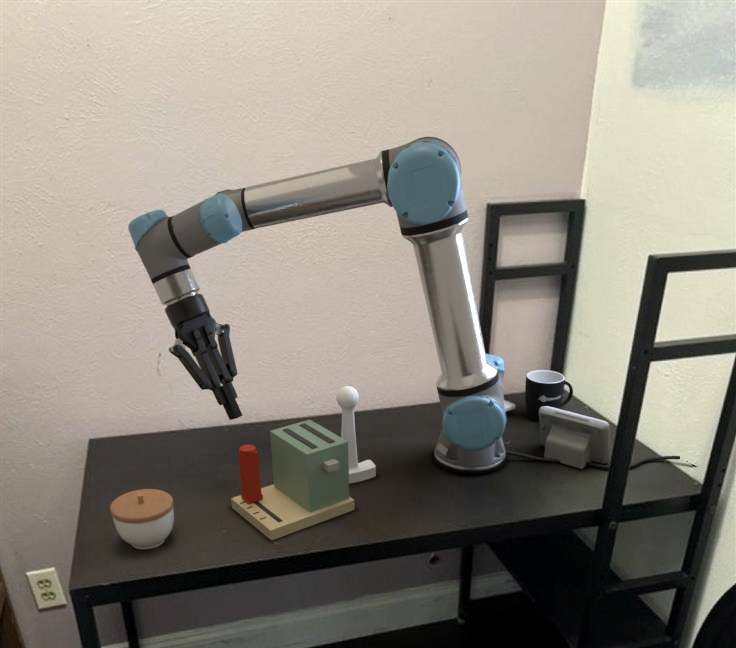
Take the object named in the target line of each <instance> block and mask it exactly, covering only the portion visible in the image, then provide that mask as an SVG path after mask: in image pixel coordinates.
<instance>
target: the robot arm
mask: <svg viewBox="0 0 736 648" xmlns="http://www.w3.org/2000/svg"><path fill="white" fill-rule="evenodd" d="M463 187H464V186H463V181H462V165H461V160H460V157H459V156H458V153H457V152H456V150H455V149H454V147H453V146H452V145H451V144H449V142H447V141H446V140H443V139H442V138H440V137H435V136H422V137H419V138H417V139H413V140H411V141H409V142H407V143H405V144H402V145H399V146H396V147H393V148H389V149H385V150H380V151H379V153H378V155H376V157H375V158H372V159H368V160H367V159H366V160H363V161H358V162H353V163H349V164H345V165H340V166H335V167H331V168H325V169H322V170H317V171H312V172H308V173H304V174H299V175H295V176H290V177H285V178H281V179H276V180H271V181H267V182H263V183H259V184H258V183H257V184H254V185H249V186H246V187H242V188H235V189H230V188H229V189H224V190H220V191H218V192H216V193H215V194H213V195H212V196H209V197H207V198H205V199H204V200H202V201H200V202H198V203H195V204H194V205H192V206H190V207H188V208H186V209H183V210H182V211H180V212H179V213H177V214H176V213H175V214H174V215H171V216H169V215H168V214H167V213H166V211H165V210H164V209H154V210H151V211H148V212H146V213H144V214H141V215H139V216H137V217H135V218H133V219H132V220H131V221H130V222H129V223H128V227H127V228H128V234H129V235H130V238H131V240H132V243H133V245H134V250H135V252H137V254H138V256H139V259H140V261H141V262H142V265H143V266H144V268H145V270H146V273H147V275H148V276H149V279H150V281H151V284H152V286H153V288H154V291H155V293H156V295H157V297H158V299H159V301H160V303H161V305H163V306H166V307H165V308H164V312H165V314H166V316H167V319H168V321H169V323H170V325H171V326H172V328H173V330H174V337H175V341H174V343H173V345H172V346H170V347H168V352H169V353H170V354H171V355H173V356H174V357H176V358H177V359H178V360H179V362H180V363H181V364H182V366H183V367H184V368H185V370H186V371H187V373H188V375H190V377H191V378H192V379H193V381H194V382H195V383H196V384H197V386H198V387H199V389H200V390H201V391H205V390H208V391H211V392H212V393H213V396H214V398H215V400H216V402H217V404H218V405H219V406H222V407H223V409H224V411H225V413H226V415H227V417H228V420H229V421H233V420H235V419H239V418H241V417H243V413H242V411H241V409H240V406H239V404H238V402H237V400H236V399H238V393H237V392H236V389H235V387H234V385H233V382H234V378H235V377H237V376H238V369H237V365H236V360H235V355H234V351H233V346H232V342H231V338H230V333H231V326H230V324H229V323H225V324H222V323H218V322H217V321H216V319H215V318H214V317H213V316H212V315H211V312H210V307H209V306H208V304H207V301H206V299H205V297H204V295H203V294H202V293H199V292H200V289H201V287H200V285H199V283H198V281H197V279H196V277H195V274H194V272H193V270H192V267H191V266H190V264H189V261H188V259H191V258H193V257H195V256H197V255H199V254H202V253H204V252H206V251H209V250H210V249H213V248H215V247H217V246H219V245H222V244H226V243H228V242H229V241H231V240H233V239H234V238H236V237H238V236H240V235H241V233H243V232H248V231H253V230H257V229H260V228H261V229H262V228H266V227H270V226H275V225H280V224H285V223H291V222H295V221H299V220H305V219H309V218H310V219H311V218H314V217H319V216H324V215H330V214H334V213H339V212H344V211H349V210H350V211H351V210H353V209H358V208H364V207H369V206H374V205H378V204H385V205H387V206H388V207H389V208H393V209H394V210H395V214H396V217H397V222H398V225H399V230H400V233H401V237H402V238H404V239H405V240H407V241H409V242H410V243H411V245H412V247H413V251H414V257H415V260H416V265H417V269H418V273H419V279H420V282H421V287H422V292H423V295H424V300H425V304H426V309H427V314H428V318H429V322H430V327H431V331H432V335H433V340H434V343H435V344H434V345H435V349H436V353H437V354H436V355H437V357H438V363H439V368H440V371H441V372H440V374H439V376H438V377H437V379H436V381H435V386H436V391H437V395H438V399H439V404H440V408H441V413H442V417H441V427H442V429H441V432H440V434H439V437H438V439H437V441H436V444H435V446H434V452H433V453H434V454H433V456H434V457H433V458H434V462H435V463H436V464H437V465H438V466H439V467H441V468H442V469H444V470H447V471H450V472H452V473H457V474H461V475H462V474H463V475H484V474H489V473H493V472H495V471H498V470H500V469H502V467H503V466H505V464H506V456H507V455H509V456H515V457H519V458H525V459H528V460H531V461H539V462H546V463H559V464H561V463H560V462H561V461H560V460H558V459H550V458H544V457H541V456H540V457H539V456H535V455H530V454H527V453H526V454H525V453H521V452H516V451H510V450H506V447H505V444H504V440H503V434H504V432H505V429H506V425H507V421H508V417H507V413H506V412H505V406H504V400H505V396H504V376H505V373H506V369H505V361H504V359H503V358H502V357H500V356H498V355H495V354H489V353H487V352H486V349H485V343H484V338H483V332H482V328H481V327H482V326H481V324H480V323H481V322H480V317H479V312H478V308H477V302H476V296H475V293H474V287H473V282H472V277H471V271H470V266H469V261H468V255H467V250H466V246H465V240H464V235H463V228H464V227H465V226H466V224H467V222H468V221H469V215H468V214H469V213H468V208H467V202H466V197H465V193H464V192H465V191H464V188H463ZM216 336H217V340H216ZM218 347H219V348H218ZM186 348H188V349H189V350H190V352H191V354H190V353H189V351H188V350H186ZM192 356H194V357H195V359H196V360H195V359H194V357H192ZM680 456H681V455H662V456H650V457H644V458H642V459H639V460H637V461H635V462H633V463H630V464H631V466H630V468H629V469H632V468H635V467H637V466H639V465H641V464H643V463H646V462H652V461H664V460H665V461H666V460H679V459H680ZM686 462H687V463H689V462H688V461H686ZM689 464H690V465H692V467H695V468H697V467H696V466H695V465H693V464H691V463H689ZM586 466H587V467H594V468H598V469H603V470H604V469H605V470H610V469H609V466H610V465H607V464H601V463H597V462H586Z"/></svg>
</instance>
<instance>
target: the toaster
mask: <svg viewBox="0 0 736 648" xmlns="http://www.w3.org/2000/svg"><path fill="white" fill-rule="evenodd" d="M269 436H270V437H269V438H270V449H271V451H270V452H271V462H272V475H273V476H272V477H273V483H272V484H270V485H266V486H264V487H261V492H262V495H263V499H262V500H259V501H256V502H253V503H250V504H248V503H247V502H245V501H244V500H243V499H242V498H241V494H240V495H237V496H234V497H231V498H230V500H231V509H233V510H234V511H235V512H236V513H237V514H239V515H240V516H241V517H242V518H243V519H244V520H246V521H247V522H248V523H249V524H251V525H252V526H253V527H254V528H256V529H257V530H258V531H259V532H260V533H261V534H263V535H264V536H265V537H266V538H268V540H270V541H275V540H277V539H280V538H283V537H285V536H288V535H290V534H293V533H296V532H299V531H301V530H305V529H306V528H309V527H312V526H314V525H318V524H321V523H323V522H325V521H329V520H331V519H334V518H336V517H339V516H341V515H342V516H343V515H344V514H347V513H349V512H352V511H355V509H356V507H355V505H356V504H355V499H354V498H352V497H351V496H350V483H349V464H348V441H346V440H344V439H343V438H341V436H339V435H337V434H336V433H334V432H332V431H330V430H329V429H327V428H325V427H324V426H322V425H320V424H318V423H317V422H315V421H313V420H311V419H307V420H302V421H300V422H297V423H293V424H289V425H285V426H282V427H279V428H276V429H275V428H274V429H272V430H269Z"/></svg>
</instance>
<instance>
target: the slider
mask: <svg viewBox="0 0 736 648" xmlns="http://www.w3.org/2000/svg"><path fill="white" fill-rule="evenodd" d="M238 450H239V451H237V458H238V459H237V460H238V470H239V478H240V489H241V494H240V495H241V498H242V499H243V500H244V501H245V502H247V503H248V504H250V503H253V502H256V501H259V500H262V499H263V495H262V492H261V488H262V482H261V481H262V480H261V470H260V461H259V460H260V458H259V451H258V450H257V448H256V446H255V445H254V444H244V445H241V446H240V447H239V449H238Z"/></svg>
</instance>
